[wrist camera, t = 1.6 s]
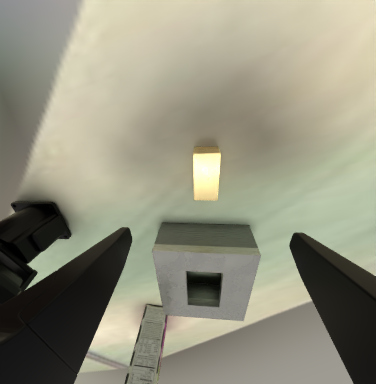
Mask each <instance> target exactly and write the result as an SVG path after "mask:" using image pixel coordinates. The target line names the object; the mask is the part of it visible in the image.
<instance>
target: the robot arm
mask: <svg viewBox="0 0 376 384" xmlns="http://www.w3.org/2000/svg"><path fill="white" fill-rule="evenodd" d="M11 206H12V208H13V209H14V211H15V213H14V214H12V215H11V216H9V217H7V218H5V219H3V220H2V221H0V384H74V382H75V380H76V377H77V374H78V372H79V370H80V368H81V365H82V363H83V361H84V359H85V356H86V354H87V352H88V349H89V347H90V345H91V342H92V340H93V338H94V335H95V333H96V331H97V329H98V326H99V324H100V322H101V319H102V317H103V315H104V312H105V310H106V308H107V305H108V303H109V301H110V299H111V296H112V294H113V292H114V289H115V287H116V285H117V282H118V280H119V278H120V275H121V273H122V271H123V268H124V266H125V263H126V259H127V256H128V253H129V250H130V247H131V243H132V236H131V232H130V229H129V228H128V227H122V228H120V229H118V230H117V231H115V232H114V233H112V234H111V235H109V236H108V237H106V238H105V239H103V240H102V241H100V242H99V243H97V244H96V245H94V246H93V247H91V248H90V249H88V250H87V251H85V252H84V253H82V254H81V255H79V256H78V257H76V258H75V259H73V260H71V261H70V262H68V263H67V264H65V265H64V266H62V267H61V268H59V269H58V270H57V271H55V272H53V273H52V274H50V275H49V276H47V277H46V278H44V279H43V280H41V281H39V282H38V283H36V284H35V285H33V286H32V287H30V288H28V289H27V290H25V289H26V288H27V287H28V285H29V284H30V283H31V281H32V280H33V279H34V277H35V276H36V275H37V273H38V272H37V271H36V270H33V269H32V268H31V267H30V266H28V265H27V264H28V263H30V262H31V261H32V260H33V259H34V258H35V257H36V256H38V255H39V254H40V253H41V252H43V251H45V250H46V249H47V248H48V247H49V246H50V245H51V244H52V243H54V242H55V241H56V240H57V239H69V238H70V237H71V234H70V232H69V230H68V228H67V226H66V224H65V222H64V220H63V218H62V216H61V214H60V212H59V210H58V208H57V206H56V204H55V203H53V202H13V203H11ZM290 250H291V252H292V255H293V258H294V260H295V263H296V266H297V269H298V271H299V274H300V276H301V278H302V280H303V282H304V285H305V287H306V289H307V291H308V293H309V295H310V297H311V299H312V301H313V303H314V304H315V307H316V309H317V311H318V313H319V315H320V317H321V319H322V321H323V323H324V325H325V327H326V329H327V331H328V333H329V335H330V337H331V339H332V341H333V343H334V345H335V347H336V349H337V351H338V353H339V355H340V357H341V359H342V361H343V363H344V365H345V367H346V369H347V371H348V373H349V375H350V377H351V379H352V381H353V383H354V384H376V276H374V275H373V274H371V273H369V272H368V271H366V270H364V269H363V268H361V267H359V266H358V265H356V264H354V263H353V262H351V261H349V260H348V259H346V258H344V257H343V256H341V255H339V254H338V253H336V252H334V251H333V250H331V249H329V248H328V247H326V246H324V245H323V244H321V243H319V242H318V241H316V240H314V239H313V238H311V237H309V236H308V235H306V234H304V233H294V234H293V236H292V239H291V241H290Z"/></svg>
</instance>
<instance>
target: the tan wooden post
mask: <svg viewBox="0 0 376 384" xmlns="http://www.w3.org/2000/svg"><path fill="white" fill-rule="evenodd" d="M220 156H221V153H220V151H219V148H218V147H195V148H194V153H193V162H194V200H218V186H219V171H220Z"/></svg>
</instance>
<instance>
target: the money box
mask: <svg viewBox="0 0 376 384" xmlns="http://www.w3.org/2000/svg"><path fill="white" fill-rule="evenodd" d="M152 253H153V259H154V264H155V269H156V274H157V280H158V285H159V290H160V295H161V301H162V306H163V311H164V315H171V316H184V317H197V318H210V319H223V320H236V321H244V317H245V314H246V310H247V306H248V302H249V299H250V295H251V291H252V287H253V283H254V280H255V276H256V272H257V268H258V265H259V261H260V257H261V254H260V252H259V249H258V247H257V244H256V242H255V239H254V237H253V234H252V232H251V229H250V227H249V225H224V224H188V223H162V224H161V227H160V229H159V232H158V235H157V238H156V241H155V244H154V247H153V249H152ZM187 271H194V272H213V273H222V274H221V283H220V284H203V283H187Z"/></svg>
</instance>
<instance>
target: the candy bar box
mask: <svg viewBox="0 0 376 384" xmlns="http://www.w3.org/2000/svg"><path fill="white" fill-rule="evenodd" d="M166 323H167V315H164V311H163V306H155V305H148V304H147V305H146V307H145V311H144V315H143V318H142V322H141V325H140V329H139V333H138V336H137V340H136V344H135V347H134V351H133V355H132V358H131V362H130V365H129V369H128V373H127V376H126V380H125V384H158V380H159V373H160V367H161V360H162V353H163V346H164V339H165V332H166Z"/></svg>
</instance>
